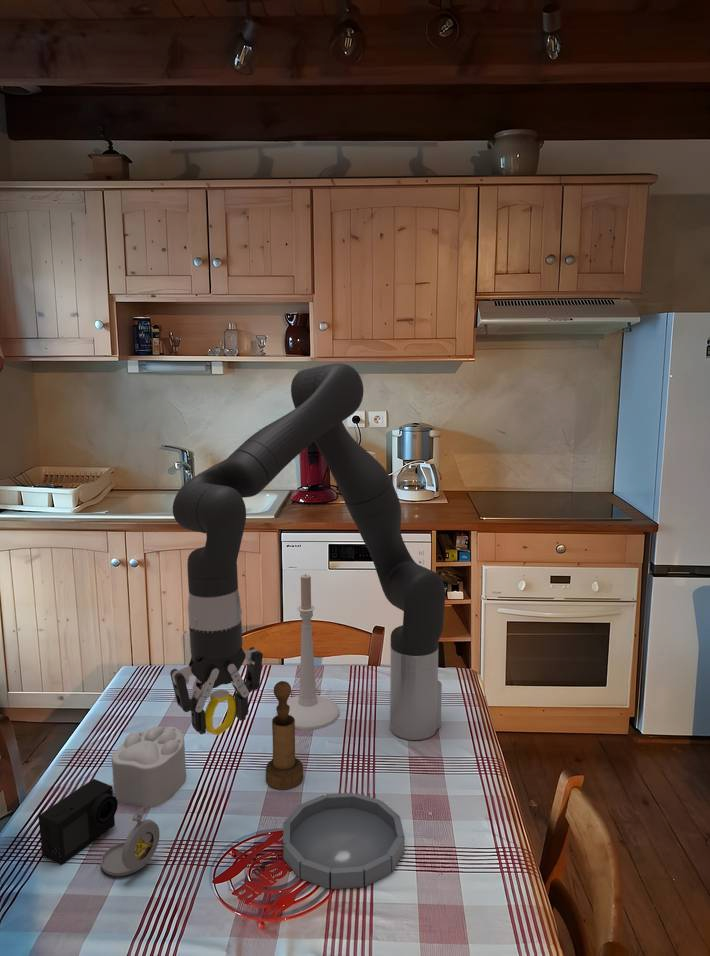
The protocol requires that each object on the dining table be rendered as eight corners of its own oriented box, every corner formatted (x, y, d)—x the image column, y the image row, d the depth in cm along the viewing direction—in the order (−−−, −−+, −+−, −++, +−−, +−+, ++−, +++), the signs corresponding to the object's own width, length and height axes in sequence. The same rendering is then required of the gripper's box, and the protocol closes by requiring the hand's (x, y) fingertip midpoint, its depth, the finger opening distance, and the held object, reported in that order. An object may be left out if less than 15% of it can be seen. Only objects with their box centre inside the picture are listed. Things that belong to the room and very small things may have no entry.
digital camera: (66, 869, 105) (63, 826, 104) (41, 856, 107) (37, 814, 106) (121, 827, 114) (118, 787, 113) (96, 817, 116) (93, 777, 115)
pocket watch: (107, 848, 109) (103, 788, 107) (164, 845, 110) (160, 785, 108) (92, 888, 101) (87, 824, 99) (154, 884, 102) (150, 821, 100)
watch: (225, 720, 111) (225, 684, 111) (240, 725, 110) (240, 687, 109) (200, 737, 106) (200, 698, 105) (215, 741, 105) (215, 702, 104)
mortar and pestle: (297, 792, 123) (294, 693, 119) (260, 787, 124) (257, 690, 121) (307, 769, 129) (305, 675, 126) (272, 765, 130) (270, 672, 127)
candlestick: (351, 708, 150) (350, 570, 145) (315, 736, 140) (313, 588, 134) (301, 693, 157) (299, 560, 152) (264, 718, 147) (259, 577, 141)
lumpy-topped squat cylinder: (105, 799, 121) (102, 752, 119) (149, 757, 133) (146, 714, 132) (159, 811, 118) (157, 762, 116) (199, 767, 130) (197, 722, 129)
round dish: (358, 793, 122) (357, 780, 122) (427, 854, 107) (427, 839, 107) (262, 834, 112) (262, 820, 111) (324, 907, 97) (324, 891, 97)
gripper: (248, 600, 112) (252, 701, 115) (158, 622, 104) (165, 729, 107) (271, 615, 106) (275, 720, 109) (177, 639, 98) (184, 752, 101)
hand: (220, 724), depth 108 cm, fingers closed on watch, 6 cm apart
